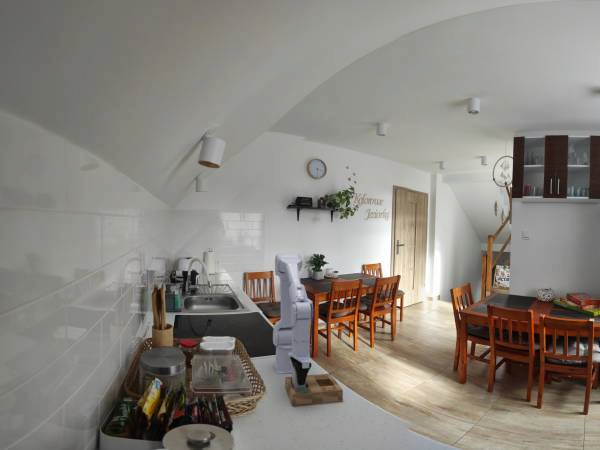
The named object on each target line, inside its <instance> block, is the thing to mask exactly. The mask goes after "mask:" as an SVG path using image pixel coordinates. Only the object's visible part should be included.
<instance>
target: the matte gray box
mask: <svg viewBox="0 0 600 450" xmlns="http://www.w3.org/2000/svg"><path fill="white" fill-rule="evenodd" d="M291 374H292V375H291V377H292V386H293V388H294V389H298V388H306V381H305V385H298V383H297V375H296V370H295V367H293V373H291Z"/></svg>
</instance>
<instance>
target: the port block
mask: <svg viewBox="0 0 600 450" xmlns="http://www.w3.org/2000/svg"><path fill="white" fill-rule="evenodd" d="M284 377H285V378H284V387H285V388H284V389H285V392H286V393H287V396H288V398H289V401H290V403H291V406H292V407H299V406H311V405H318V404H322V405H323V404H329V403H340V402H343V399H344V398H343V397H344V395H343V393H344V391H343V388H342V387H341V386H340V384H339V383H338V382H337V380H336V379H335V378H334V377H333V374H331V373H323V374H321V373H320V374H309V375H308V374H307V377H306V388H298V389H294V388H293V386H292V376H284Z"/></svg>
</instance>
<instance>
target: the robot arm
mask: <svg viewBox="0 0 600 450" xmlns="http://www.w3.org/2000/svg"><path fill="white" fill-rule="evenodd" d="M302 268H303V256H302V255H301V254H300V253H297V254H295V253H292V254H291V253H286V254H285V253H277V254H276V255H275V258H274V273H275V275H276V276H277V277H279V284H280V285H279V287H280V289H279V291H280V293H279V294H280V296H279V298H280V319H279V321H277V322H275V323H274V325H273V330H272V343H273V345H274V346H275V362H273V367H274V370H275V373H276V374H277V375H282V374H292V373H293V367H295V370H296V375H297V383H298V385H305V381H306V377H307V375H308V373H309V371H310V369H311V368H312V364H313V363H312V362H310V356H311V352H310V347H311V345H310V343H311V320H313V317H314V305H313V303H312V300H311V299H309V297H308V295H307V290H306V287H305V285H304V284H303V283H301V278H300V277H301V276H300V272H301V270H302Z"/></svg>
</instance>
